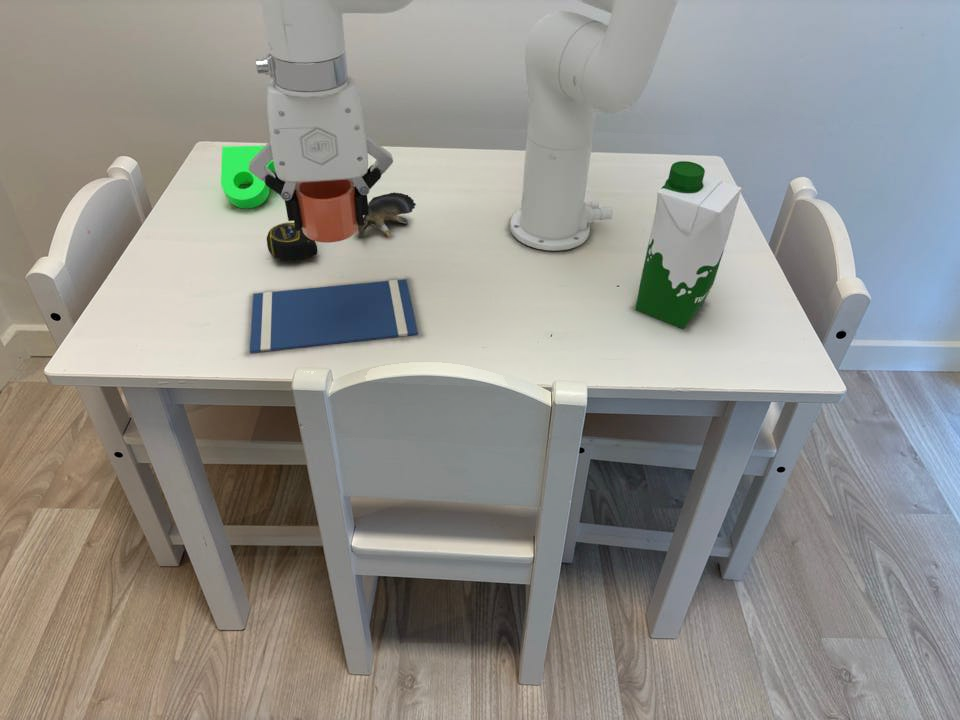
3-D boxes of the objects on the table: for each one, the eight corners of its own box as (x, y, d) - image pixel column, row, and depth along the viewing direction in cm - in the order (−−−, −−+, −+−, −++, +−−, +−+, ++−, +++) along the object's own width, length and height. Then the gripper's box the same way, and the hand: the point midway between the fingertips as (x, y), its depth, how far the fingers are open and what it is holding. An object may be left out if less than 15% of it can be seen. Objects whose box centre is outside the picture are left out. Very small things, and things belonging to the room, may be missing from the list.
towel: (406, 281, 98) (406, 278, 98) (417, 334, 89) (417, 332, 89) (253, 295, 94) (253, 293, 94) (250, 353, 86) (249, 350, 85)
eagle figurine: (379, 247, 102) (425, 217, 105) (353, 204, 99) (401, 174, 103) (360, 250, 108) (404, 222, 112) (336, 209, 106) (382, 182, 109)
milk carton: (652, 280, 100) (683, 150, 86) (712, 303, 96) (754, 171, 82) (625, 310, 94) (654, 176, 81) (688, 336, 90) (729, 200, 77)
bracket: (232, 222, 115) (219, 200, 108) (234, 171, 118) (221, 146, 111) (353, 218, 117) (348, 196, 110) (351, 168, 120) (346, 143, 113)
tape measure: (320, 262, 101) (316, 241, 98) (272, 270, 99) (267, 247, 96) (313, 238, 105) (310, 217, 103) (267, 244, 104) (263, 223, 101)
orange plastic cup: (356, 211, 86) (352, 170, 82) (360, 240, 81) (356, 198, 77) (302, 215, 85) (295, 174, 81) (303, 245, 80) (296, 202, 76)
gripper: (219, 86, 66) (253, 245, 78) (398, 79, 69) (405, 233, 81) (224, 60, 72) (255, 212, 84) (390, 54, 75) (398, 201, 87)
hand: (329, 221), depth 82 cm, fingers closed on orange plastic cup, 6 cm apart
